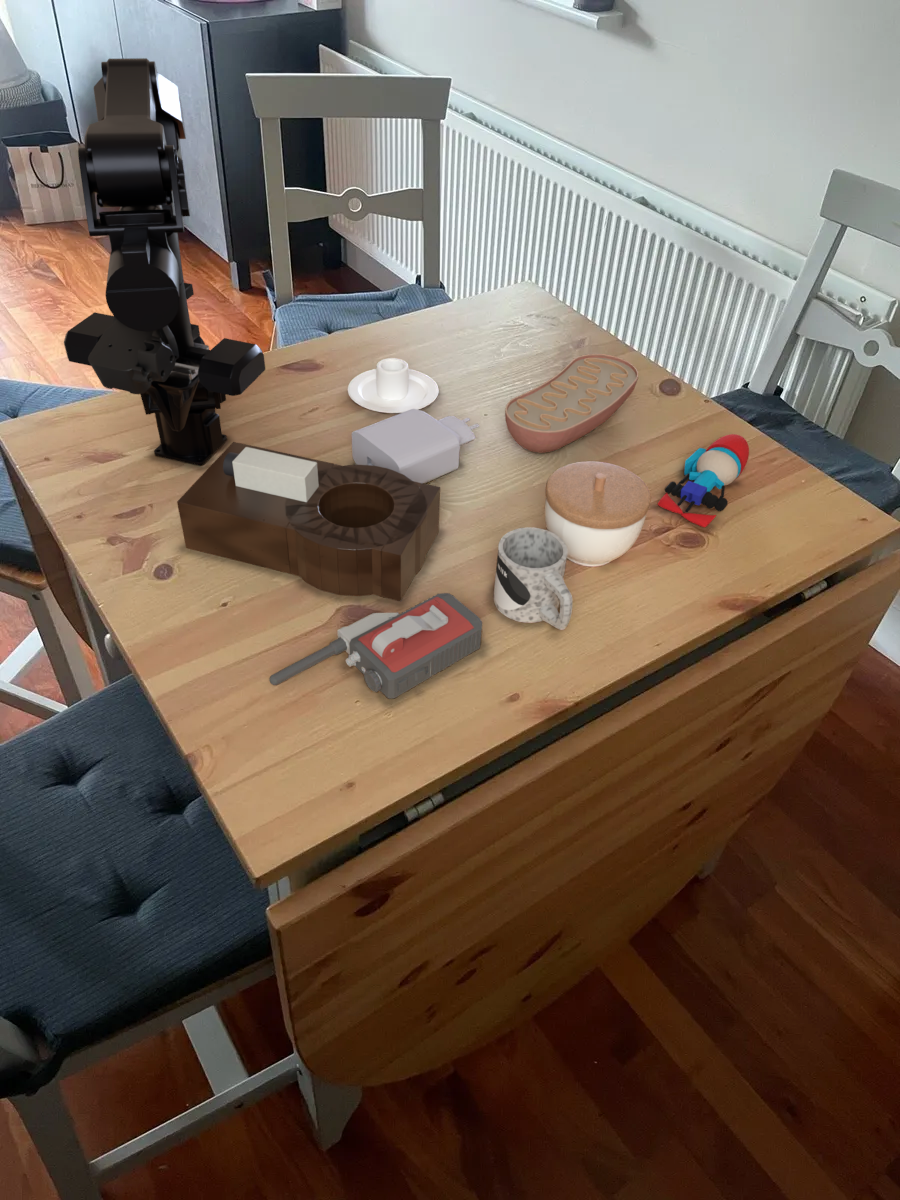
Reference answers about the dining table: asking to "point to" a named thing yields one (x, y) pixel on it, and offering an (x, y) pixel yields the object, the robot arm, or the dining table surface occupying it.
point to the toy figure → (708, 477)
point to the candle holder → (392, 388)
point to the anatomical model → (570, 402)
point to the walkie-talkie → (401, 645)
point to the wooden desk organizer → (319, 526)
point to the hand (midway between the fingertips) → (178, 428)
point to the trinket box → (596, 510)
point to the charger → (413, 444)
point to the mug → (532, 577)
